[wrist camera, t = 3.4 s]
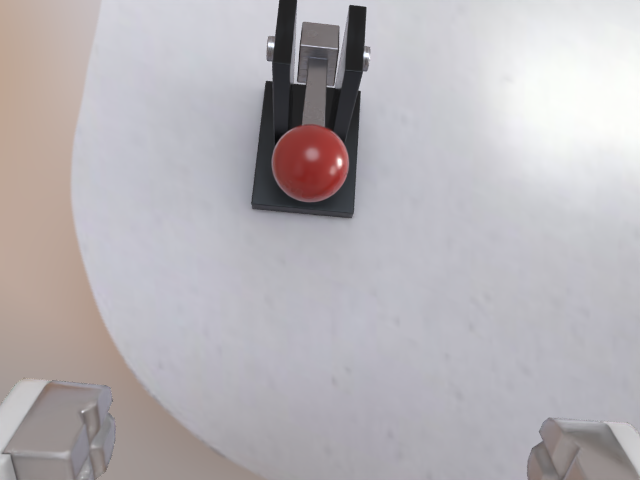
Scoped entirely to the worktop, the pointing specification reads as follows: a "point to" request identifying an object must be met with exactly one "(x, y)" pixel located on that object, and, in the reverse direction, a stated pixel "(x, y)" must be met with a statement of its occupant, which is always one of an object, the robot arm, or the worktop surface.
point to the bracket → (288, 106)
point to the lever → (313, 124)
